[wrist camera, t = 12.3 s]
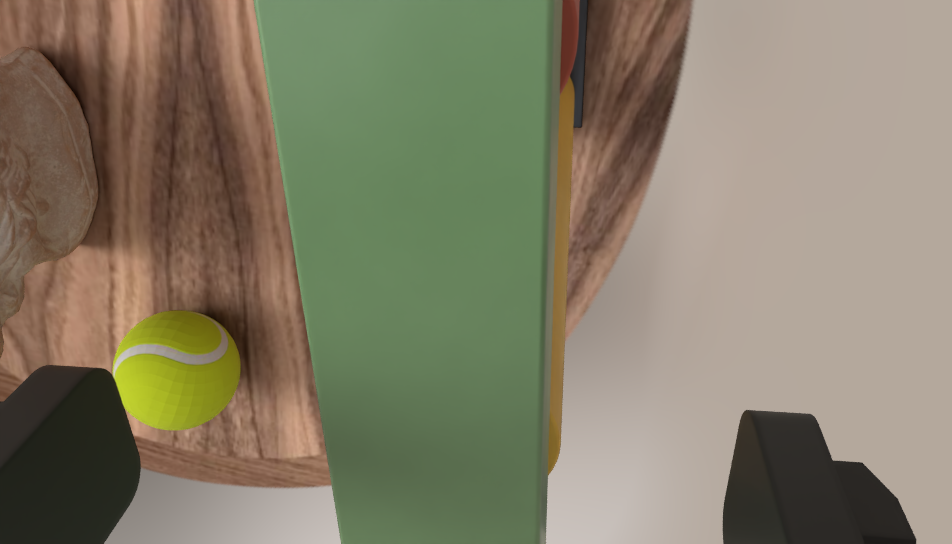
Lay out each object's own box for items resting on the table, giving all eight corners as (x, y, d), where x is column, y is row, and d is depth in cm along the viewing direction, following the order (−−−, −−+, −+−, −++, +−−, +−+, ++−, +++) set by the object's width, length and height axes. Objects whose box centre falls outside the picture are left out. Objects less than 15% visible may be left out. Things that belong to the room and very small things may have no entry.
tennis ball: (138, 350, 47) (76, 423, 42) (164, 268, 44) (100, 335, 38) (239, 396, 48) (192, 474, 42) (272, 319, 45) (226, 392, 39)
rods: (486, -148, 31) (298, -95, 11) (595, -150, 31) (614, -99, 10) (490, 125, 37) (372, 496, 17) (581, 127, 37) (576, 512, 16)
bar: (340, -191, 10) (217, -199, 7) (568, -199, 10) (559, -209, 6) (410, 539, 17) (367, 718, 14) (545, 550, 17) (535, 736, 13)
